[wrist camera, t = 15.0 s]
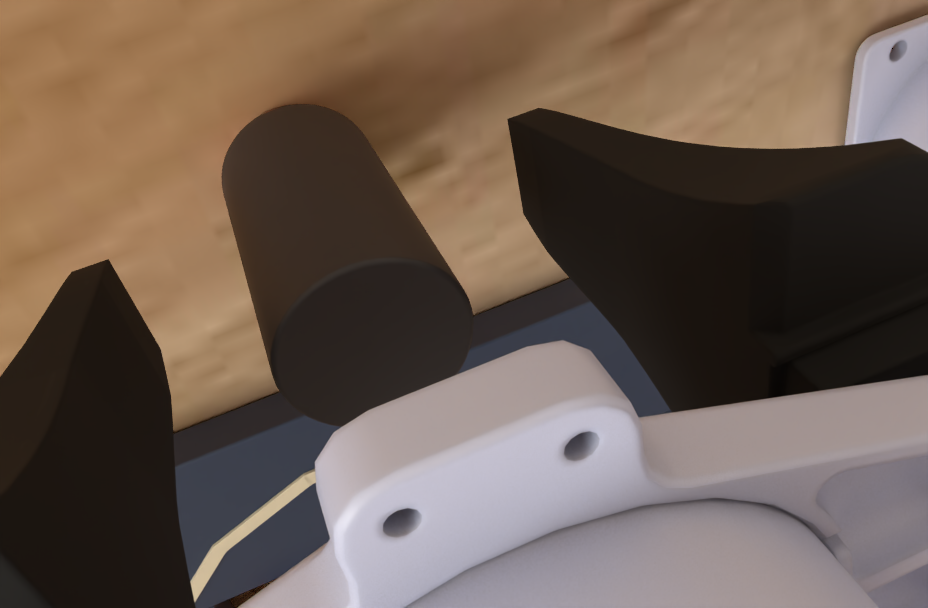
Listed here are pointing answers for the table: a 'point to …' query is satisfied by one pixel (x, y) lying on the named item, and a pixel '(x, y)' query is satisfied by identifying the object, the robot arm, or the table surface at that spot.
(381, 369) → the marker
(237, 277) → the table surface
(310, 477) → the face board
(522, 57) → the table surface
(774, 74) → the table surface
